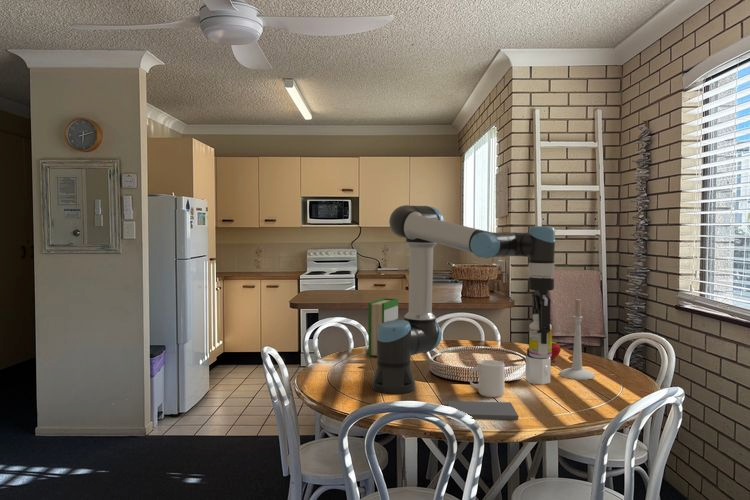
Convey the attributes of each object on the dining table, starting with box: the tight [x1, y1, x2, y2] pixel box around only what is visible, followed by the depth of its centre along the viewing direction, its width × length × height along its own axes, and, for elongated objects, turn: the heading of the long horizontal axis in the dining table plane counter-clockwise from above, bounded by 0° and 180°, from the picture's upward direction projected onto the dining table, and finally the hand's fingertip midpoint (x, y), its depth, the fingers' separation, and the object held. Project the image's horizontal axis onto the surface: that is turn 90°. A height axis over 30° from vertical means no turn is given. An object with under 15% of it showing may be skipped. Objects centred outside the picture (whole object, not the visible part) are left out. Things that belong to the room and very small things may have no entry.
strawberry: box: [550, 341, 562, 362], centre depth 244 cm, size 6×8×10 cm
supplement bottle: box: [528, 314, 553, 358], centre depth 175 cm, size 7×7×13 cm
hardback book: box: [367, 297, 399, 358], centre depth 257 cm, size 18×7×24 cm, turn 158°
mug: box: [468, 359, 506, 398], centre depth 195 cm, size 9×12×11 cm
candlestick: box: [559, 298, 596, 381], centre depth 219 cm, size 13×13×30 cm
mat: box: [447, 400, 519, 421], centre depth 176 cm, size 20×13×1 cm, turn 86°
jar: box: [525, 347, 552, 385], centre depth 211 cm, size 9×8×12 cm
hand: (540, 351), depth 175 cm, fingers closed on supplement bottle, 7 cm apart
